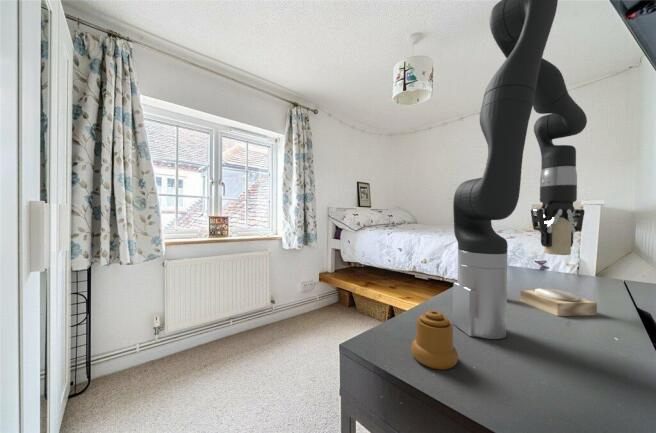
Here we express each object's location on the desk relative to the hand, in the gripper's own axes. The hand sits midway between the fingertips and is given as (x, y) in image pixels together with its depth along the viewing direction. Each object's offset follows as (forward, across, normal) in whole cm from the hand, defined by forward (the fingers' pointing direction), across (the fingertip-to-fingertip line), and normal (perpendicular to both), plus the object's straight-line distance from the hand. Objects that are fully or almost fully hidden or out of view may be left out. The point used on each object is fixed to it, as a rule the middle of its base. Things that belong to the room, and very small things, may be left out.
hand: (556, 246), depth 69 cm
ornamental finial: (+17, -46, -22) cm, 54 cm away
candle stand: (+17, 0, 0) cm, 17 cm away
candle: (+2, 0, 0) cm, 2 cm away
